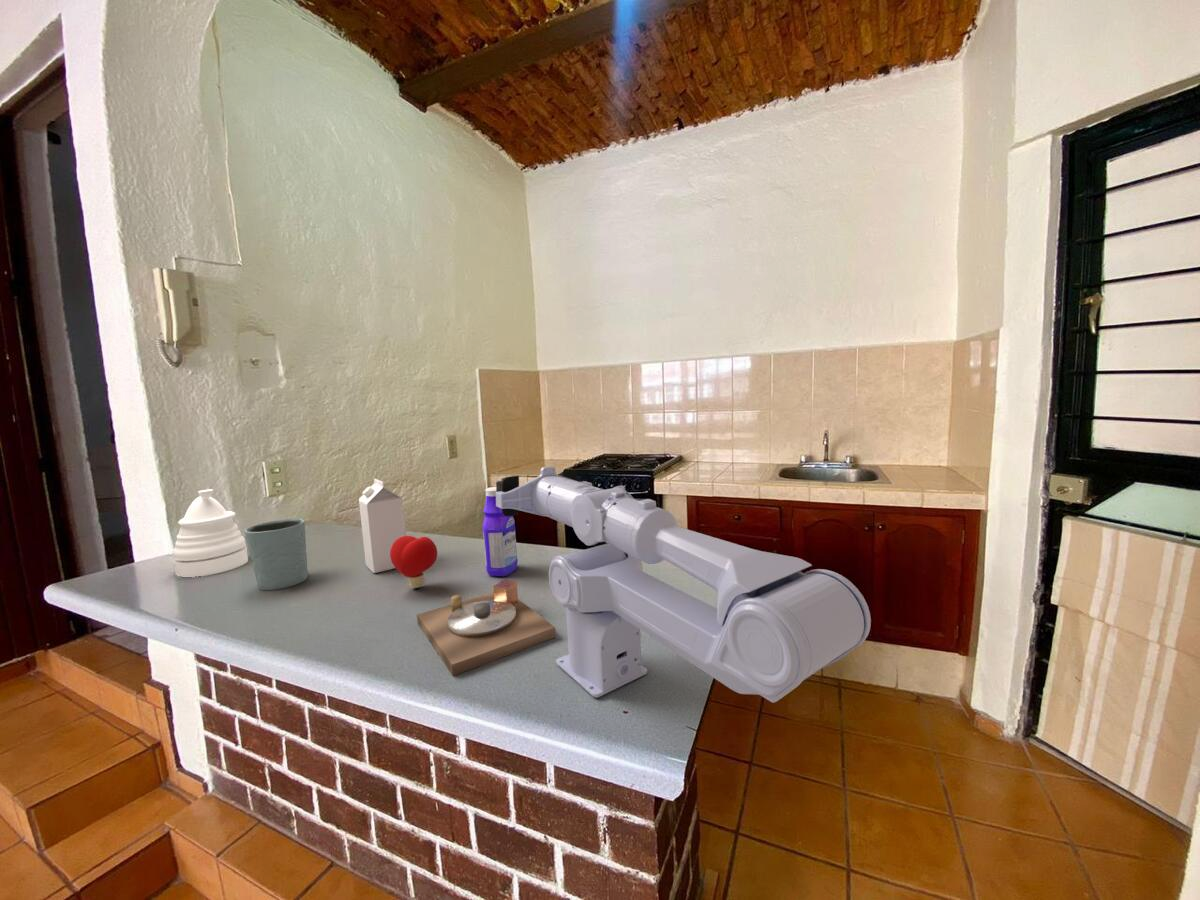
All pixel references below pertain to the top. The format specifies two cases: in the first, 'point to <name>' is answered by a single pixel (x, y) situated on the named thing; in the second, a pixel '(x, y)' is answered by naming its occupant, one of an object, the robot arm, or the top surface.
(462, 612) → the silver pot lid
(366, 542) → the milk carton
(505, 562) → the bottle
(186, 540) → the honey pot
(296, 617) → the top surface
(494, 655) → the mounting board
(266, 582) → the teal cylindrical pot
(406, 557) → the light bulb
